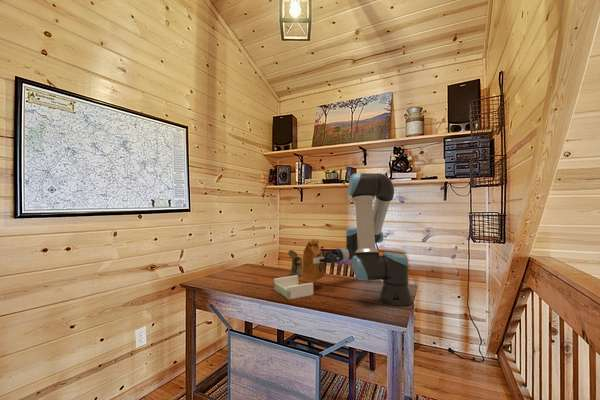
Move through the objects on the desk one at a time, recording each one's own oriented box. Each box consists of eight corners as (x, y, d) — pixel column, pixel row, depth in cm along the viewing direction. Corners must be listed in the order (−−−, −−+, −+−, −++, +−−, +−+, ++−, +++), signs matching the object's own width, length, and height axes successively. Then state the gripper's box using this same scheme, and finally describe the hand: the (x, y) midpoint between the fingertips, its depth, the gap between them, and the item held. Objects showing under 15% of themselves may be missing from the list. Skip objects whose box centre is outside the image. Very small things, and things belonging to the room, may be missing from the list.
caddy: (313, 294, 147) (313, 283, 147) (288, 299, 140) (288, 287, 140) (297, 285, 163) (297, 275, 163) (273, 289, 156) (273, 278, 156)
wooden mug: (284, 277, 179) (284, 249, 179) (293, 272, 192) (293, 246, 192) (297, 279, 176) (297, 250, 176) (305, 273, 188) (305, 247, 188)
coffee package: (327, 277, 160) (326, 239, 160) (315, 283, 150) (314, 242, 150) (312, 275, 166) (311, 238, 166) (300, 280, 156) (299, 241, 156)
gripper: (352, 265, 156) (319, 270, 146) (328, 257, 177) (297, 261, 167) (352, 252, 156) (319, 256, 146) (328, 245, 177) (297, 248, 166)
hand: (308, 258), depth 156 cm, fingers closed on coffee package, 11 cm apart
